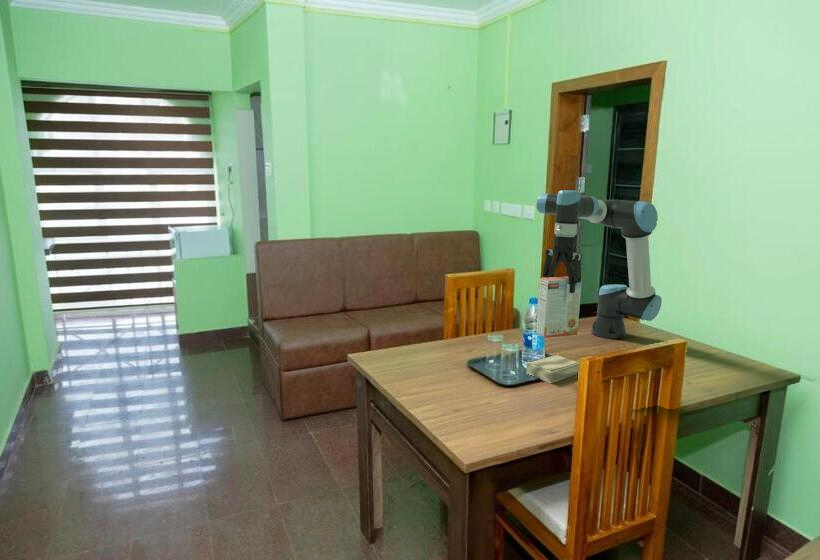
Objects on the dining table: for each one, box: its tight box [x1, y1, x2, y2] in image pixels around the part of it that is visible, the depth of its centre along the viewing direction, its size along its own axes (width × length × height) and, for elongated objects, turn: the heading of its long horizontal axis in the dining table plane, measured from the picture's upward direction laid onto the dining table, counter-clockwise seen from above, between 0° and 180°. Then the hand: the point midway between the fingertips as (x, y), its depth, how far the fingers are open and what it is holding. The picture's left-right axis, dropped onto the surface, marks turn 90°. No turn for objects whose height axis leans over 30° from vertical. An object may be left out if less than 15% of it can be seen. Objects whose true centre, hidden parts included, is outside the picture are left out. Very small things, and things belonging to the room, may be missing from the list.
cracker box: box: [535, 276, 583, 339], centre depth 194 cm, size 14×6×21 cm, turn 109°
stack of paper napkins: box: [525, 354, 580, 384], centre depth 199 cm, size 11×17×4 cm, turn 128°
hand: (559, 299), depth 194 cm, fingers closed on cracker box, 7 cm apart
